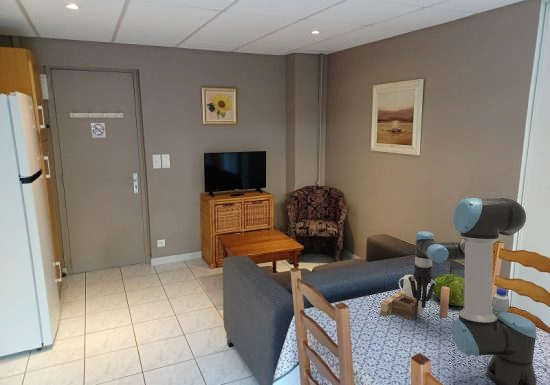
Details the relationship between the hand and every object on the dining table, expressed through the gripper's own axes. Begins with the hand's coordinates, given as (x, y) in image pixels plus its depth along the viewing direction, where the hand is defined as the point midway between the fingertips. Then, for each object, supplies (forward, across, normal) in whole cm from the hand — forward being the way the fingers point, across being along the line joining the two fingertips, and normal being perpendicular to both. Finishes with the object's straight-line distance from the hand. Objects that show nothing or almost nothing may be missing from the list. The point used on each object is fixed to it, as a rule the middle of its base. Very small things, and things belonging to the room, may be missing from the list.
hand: (420, 313), depth 184 cm
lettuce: (+3, -3, -28) cm, 28 cm away
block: (+2, +7, 0) cm, 7 cm away
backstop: (+2, +14, 0) cm, 14 cm away
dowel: (+2, -7, -10) cm, 12 cm away
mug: (+2, +14, -17) cm, 22 cm away
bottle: (+3, -30, -11) cm, 32 cm away
